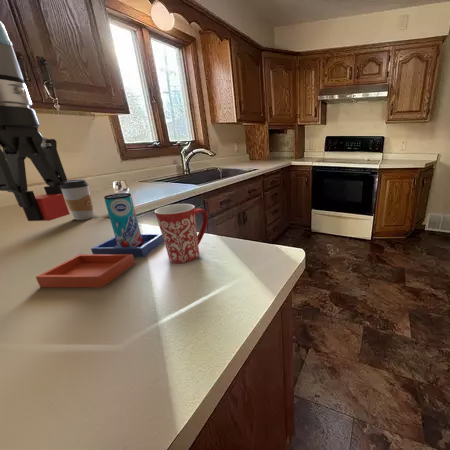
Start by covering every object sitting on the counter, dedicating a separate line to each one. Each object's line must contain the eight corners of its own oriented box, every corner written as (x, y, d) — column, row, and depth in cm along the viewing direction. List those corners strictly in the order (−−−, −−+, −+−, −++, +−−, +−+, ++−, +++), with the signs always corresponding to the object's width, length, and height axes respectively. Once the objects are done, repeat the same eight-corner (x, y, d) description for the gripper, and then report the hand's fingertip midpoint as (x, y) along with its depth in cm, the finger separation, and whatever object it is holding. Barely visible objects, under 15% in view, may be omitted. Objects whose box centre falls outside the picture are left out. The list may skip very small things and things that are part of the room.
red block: (27, 221, 55) (18, 199, 53) (49, 214, 59) (42, 194, 58) (49, 220, 55) (41, 198, 53) (69, 214, 59) (62, 193, 58)
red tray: (40, 287, 52) (35, 276, 51) (82, 263, 62) (79, 254, 61) (102, 287, 52) (98, 276, 51) (135, 263, 62) (132, 254, 61)
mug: (176, 269, 59) (165, 215, 54) (159, 259, 64) (147, 209, 59) (220, 250, 68) (214, 203, 63) (202, 243, 73) (195, 199, 69)
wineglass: (131, 204, 119) (125, 179, 115) (134, 206, 115) (128, 181, 111) (117, 206, 115) (110, 181, 111) (119, 209, 111) (112, 182, 107)
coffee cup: (86, 220, 95) (74, 182, 90) (65, 221, 96) (51, 182, 91) (102, 214, 103) (92, 179, 98) (83, 214, 103) (72, 179, 98)
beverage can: (119, 253, 66) (103, 199, 61) (118, 246, 71) (104, 195, 66) (144, 247, 69) (131, 195, 64) (142, 241, 74) (130, 192, 69)
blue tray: (93, 257, 65) (90, 248, 64) (121, 241, 75) (119, 233, 74) (143, 257, 65) (141, 248, 64) (165, 241, 75) (163, 233, 74)
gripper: (-34, 99, 41) (22, 229, 48) (66, 110, 58) (95, 206, 65) (-77, 100, 41) (-15, 230, 49) (35, 111, 58) (68, 206, 66)
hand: (48, 216), depth 57 cm, fingers closed on red block, 5 cm apart
